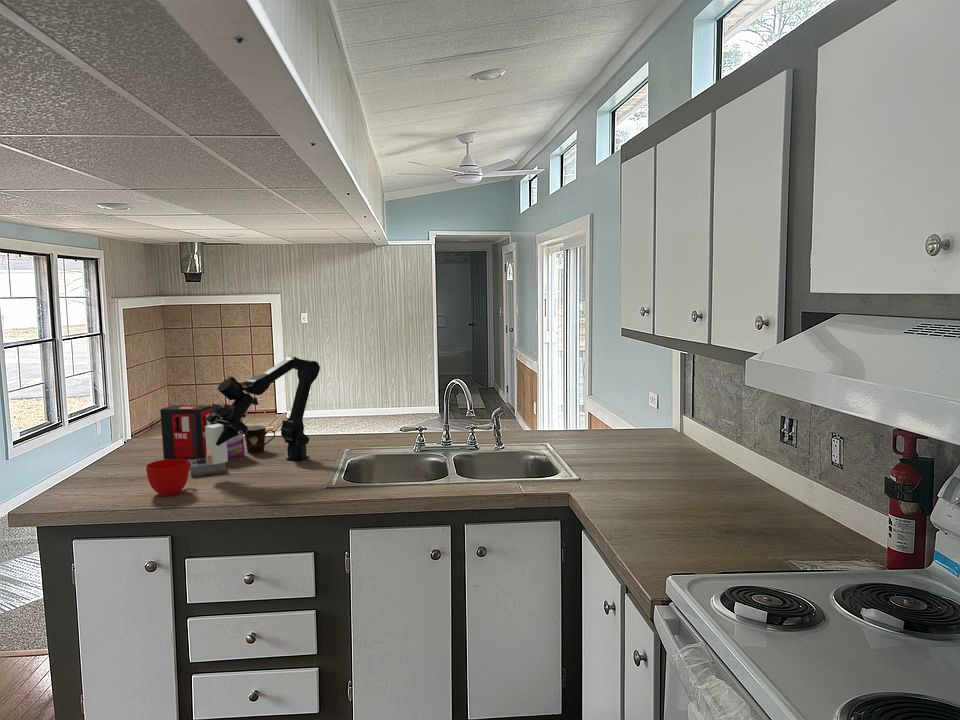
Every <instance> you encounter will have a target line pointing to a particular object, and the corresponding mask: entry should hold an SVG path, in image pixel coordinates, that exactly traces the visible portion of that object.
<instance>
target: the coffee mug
mask: <svg viewBox="0 0 960 720" xmlns="http://www.w3.org/2000/svg"><path fill="white" fill-rule="evenodd" d="M247 427H248V431H247V433H246V434H245V435H244V438H245V445H246V449H247V450H246V451H247V453H248V452H249V453H248V454H251V453H256V454H261V452H262V453H263V452H265V446H266V444H267V445H268V443H270V442H271V441H272V440H273V439H274V438H275V437H276V431H274V430H273V429H267V430H266V426H265V425H250V426H248V425H247ZM269 432H272V433H273V437H271V438H270V439H269V440H267V441H266V435H267V433H269ZM265 441H266V442H265Z"/></svg>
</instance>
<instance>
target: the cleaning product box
mask: <svg viewBox="0 0 960 720" xmlns="http://www.w3.org/2000/svg"><path fill="white" fill-rule="evenodd" d="M211 406H212V404H209V405H208V404H207V405H206V404H205V405H204V404H203V405H200V404H199V405H196V404H195V405H194V404H193V405H189V404H188V405H185V404H183V405H181V404H178V405H177V404H176V405H173V404H172V405H169V406H167V407H163V408H160V409H159V411H160V422H161V423H160V424H161V425H160V426H161V427H160V428H161V437H162V440H161V441H162V451H163V452H162V453H163V460H165V459H186V460H189V459H198V458H206V456H207V450H206V435H205V426H208V425H211V423H210V422H209V421H207V420H206V418H207V417H208V416H209V415H211V414H212V413H211V412H210V409H211Z"/></svg>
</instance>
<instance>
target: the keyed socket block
mask: <svg viewBox="0 0 960 720" xmlns="http://www.w3.org/2000/svg"><path fill="white" fill-rule="evenodd" d="M187 460H188V461H189V462H190V469H189V475H190V474H191V475H190V477H191V476H193V477H197V476H196V475H200V476H203V475H202V474H208V475H211V474H210V473H216V474H220V473H219V472H223V473H227V466H226V465H227V464H226V463H227V462H223V463H219V464H206V458H198V459H187Z"/></svg>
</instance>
